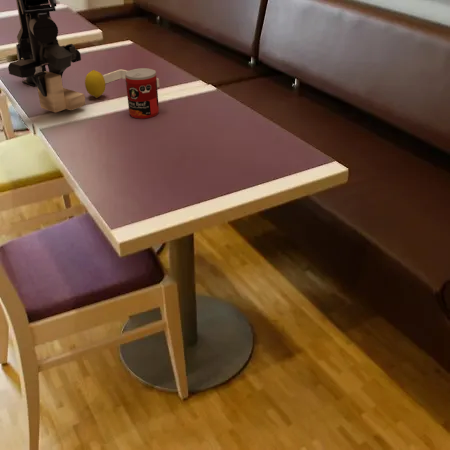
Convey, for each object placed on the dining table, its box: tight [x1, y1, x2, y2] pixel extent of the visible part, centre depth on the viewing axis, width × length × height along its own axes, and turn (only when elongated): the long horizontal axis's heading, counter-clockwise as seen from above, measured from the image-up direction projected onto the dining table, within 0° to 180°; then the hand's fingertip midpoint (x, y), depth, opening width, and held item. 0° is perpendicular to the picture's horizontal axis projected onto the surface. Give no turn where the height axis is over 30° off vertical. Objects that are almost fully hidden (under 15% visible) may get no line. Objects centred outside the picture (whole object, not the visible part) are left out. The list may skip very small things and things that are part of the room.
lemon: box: [84, 69, 106, 99], centre depth 171 cm, size 6×6×8 cm
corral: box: [102, 68, 160, 89], centre depth 180 cm, size 16×12×2 cm
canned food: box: [125, 67, 160, 120], centre depth 159 cm, size 8×8×11 cm
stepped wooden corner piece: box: [36, 70, 86, 114], centre depth 161 cm, size 10×8×9 cm
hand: (51, 94), depth 160 cm, fingers closed on stepped wooden corner piece, 3 cm apart
